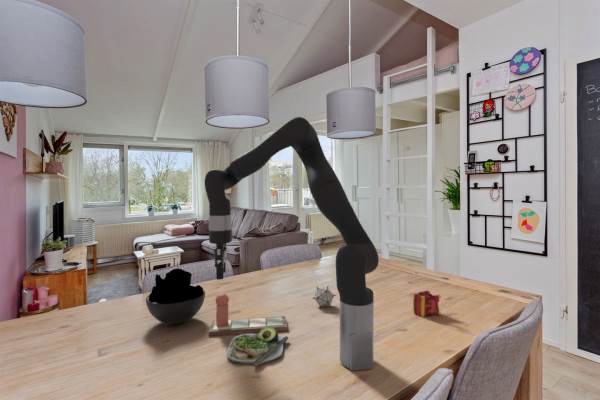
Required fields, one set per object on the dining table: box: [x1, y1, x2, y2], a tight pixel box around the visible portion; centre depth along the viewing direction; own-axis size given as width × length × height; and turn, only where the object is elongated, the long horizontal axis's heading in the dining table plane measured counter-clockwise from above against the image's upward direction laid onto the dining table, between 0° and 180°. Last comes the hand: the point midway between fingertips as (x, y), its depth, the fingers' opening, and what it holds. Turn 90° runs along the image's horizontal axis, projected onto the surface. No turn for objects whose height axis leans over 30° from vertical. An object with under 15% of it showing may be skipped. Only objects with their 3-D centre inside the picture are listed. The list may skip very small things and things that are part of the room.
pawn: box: [215, 292, 230, 327], centre depth 112 cm, size 4×4×11 cm
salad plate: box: [226, 327, 289, 367], centre depth 97 cm, size 19×18×5 cm
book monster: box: [412, 289, 442, 318], centre depth 123 cm, size 11×9×12 cm
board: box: [208, 315, 289, 337], centre depth 114 cm, size 9×26×2 cm, turn 98°
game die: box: [311, 285, 337, 309], centre depth 134 cm, size 9×8×10 cm
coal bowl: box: [145, 268, 206, 325], centre depth 119 cm, size 20×20×19 cm
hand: (221, 275), depth 112 cm, fingers open, 8 cm apart
